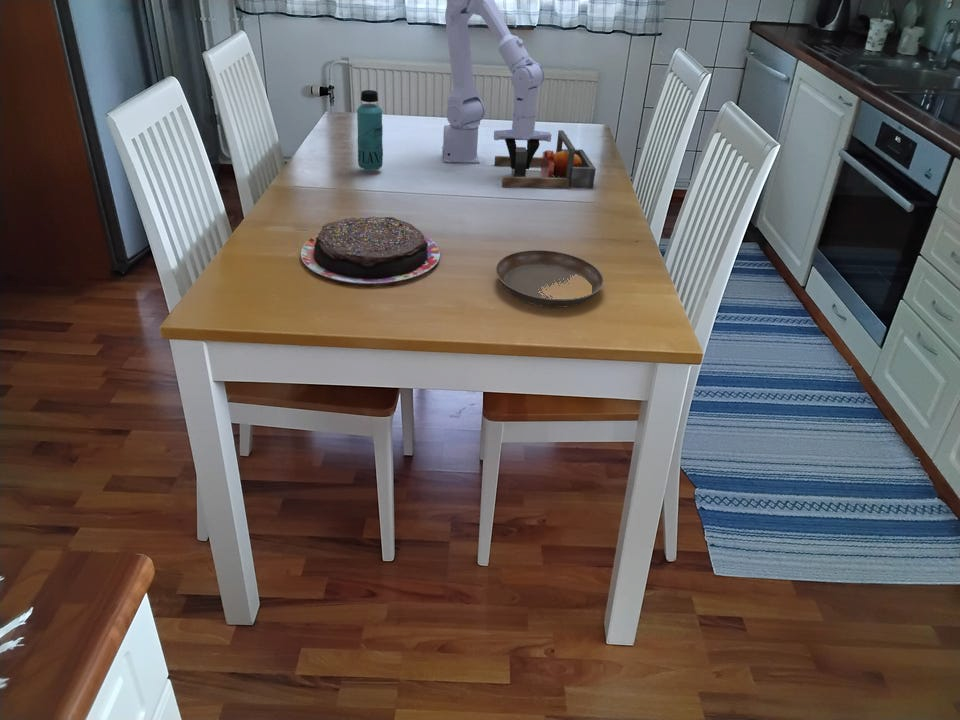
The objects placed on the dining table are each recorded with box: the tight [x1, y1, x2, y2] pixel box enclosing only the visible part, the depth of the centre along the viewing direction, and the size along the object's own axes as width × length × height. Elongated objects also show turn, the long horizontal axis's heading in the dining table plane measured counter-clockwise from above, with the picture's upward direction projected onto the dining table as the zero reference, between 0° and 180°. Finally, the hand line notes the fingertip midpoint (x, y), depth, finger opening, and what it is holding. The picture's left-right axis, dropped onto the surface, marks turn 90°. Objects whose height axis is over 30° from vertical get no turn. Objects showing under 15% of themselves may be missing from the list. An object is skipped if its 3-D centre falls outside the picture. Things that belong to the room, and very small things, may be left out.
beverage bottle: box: [356, 89, 384, 171], centre depth 187 cm, size 6×7×20 cm
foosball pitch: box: [493, 129, 597, 189], centre depth 195 cm, size 24×17×10 cm
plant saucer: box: [495, 249, 605, 308], centre depth 144 cm, size 21×21×3 cm
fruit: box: [552, 151, 582, 178], centre depth 196 cm, size 8×8×8 cm
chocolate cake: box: [300, 216, 441, 288], centre depth 150 cm, size 28×28×7 cm
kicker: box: [510, 146, 555, 178], centre depth 195 cm, size 10×10×7 cm
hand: (519, 167), depth 195 cm, fingers open, 3 cm apart
